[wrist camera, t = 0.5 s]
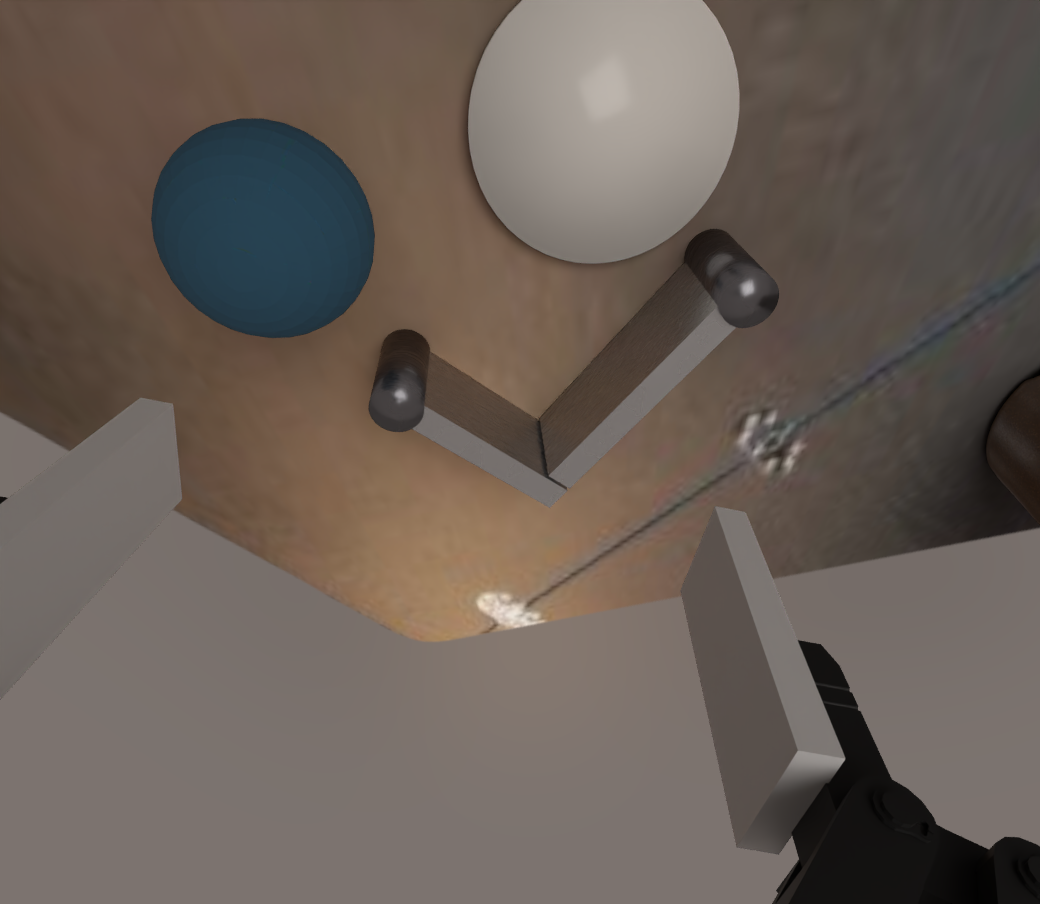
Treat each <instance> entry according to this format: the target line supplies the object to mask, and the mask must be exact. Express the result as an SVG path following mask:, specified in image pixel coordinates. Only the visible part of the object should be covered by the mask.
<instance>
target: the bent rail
mask: <svg viewBox="0 0 1040 904" xmlns="http://www.w3.org/2000/svg"><path fill="white" fill-rule="evenodd" d="M778 298H779V290H778V286H777V284H776V282H775V281H774V280H773V278H772V277H771V276H770V275H769V274H768V273H767V272H766V271H765V270H764V269H763V268H762V267H761V266H760V265H759V264H758V263H757V262H756V261H755V260H754V259H753V258H752V257H751V256H750V255H749V254H748V253H747V252H746V251H745V250H744V249H743V248H742V247H741V246H740V245H739V244H738V243H737V242H736V241H735V240H734V239H733V238H732V237H731V236H730V235H729V234H728V233H727V232H725V231H723V230H719V229H710V230H706V231H704V232H701V233H700V234H698V235H697V236H696V237H695V238H694V239H693V240H692V241H691V242H690V244H689V245H688V247H687V250H686V253H685V263H684V264H683V265H682V266H681V267H680V268H679V269H678V270H677V271H676V272H675V273H674V274H673V275H672V277H671V278H670V279H669V280H668V281H667V282H666V283H665V284H664V285H663V286H662V287H661V288H660V289H659V290H658V292H657V293H656V294H655V295H654V296H653V297H652V298H651V299H650V300H649V301H648V302H647V303H646V304H645V306H644V307H643V308H642V309H641V310H640V311H639V312H638V313H637V314H636V315H635V316H634V317H633V318H632V319H631V321H630V322H629V323H628V324H627V325H626V326H625V327H624V328H623V329H622V330H621V331H620V332H619V333H618V334H617V336H616V337H615V338H614V339H613V340H612V341H611V342H610V343H609V344H608V345H607V346H606V347H605V348H604V349H603V351H602V352H601V353H600V354H599V355H598V356H597V357H596V358H595V359H594V360H593V361H592V362H591V363H590V364H589V366H588V367H587V368H586V369H585V370H584V371H583V372H582V373H581V374H580V375H579V376H578V377H577V378H576V379H575V381H574V382H573V383H572V384H571V385H570V386H569V387H568V388H567V389H566V390H565V391H564V392H563V393H562V395H561V396H560V397H559V398H558V399H557V400H556V401H555V402H554V403H553V404H552V405H551V406H550V407H549V408H548V410H547V411H546V412H545V413H544V414H543V415H542V416H541V417H540V421H538V420H536V419H535V418H533V417H532V416H530V415H529V414H527V413H525V412H524V411H522V410H521V409H519V408H518V407H516V406H514V405H513V404H511V403H510V402H508V401H507V400H505V399H503V398H502V397H500V396H499V395H497V394H496V393H494V392H492V391H491V390H489V389H488V388H486V387H485V386H483V385H481V384H480V383H478V382H477V381H475V380H474V379H472V378H470V377H469V376H467V375H466V374H464V373H463V372H461V371H459V370H458V369H456V368H455V367H453V366H452V365H450V364H448V363H447V362H445V361H444V360H442V359H441V358H439V357H437V356H436V355H434V354H433V353H431V352H430V348H429V345H428V342H427V341H426V339H425V338H424V337H423V336H422V335H420V334H419V333H417V332H415V331H412V330H397V331H395V332H393V333H391V334H390V335H388V336H387V338H386V339H385V340H384V343H383V346H382V350H381V355H380V359H379V363H378V367H377V372H376V376H375V380H374V385H373V389H372V393H371V397H370V402H369V413H370V415H371V417H372V419H373V420H374V422H375V423H376V424H377V425H379V426H380V427H382V428H384V429H386V430H389V431H393V432H403V431H408V430H410V429H413V430H415V431H417V432H418V433H420V434H422V435H424V436H425V437H427V438H429V439H430V440H432V441H434V442H436V443H437V444H439V445H441V446H443V447H444V448H446V449H448V450H450V451H451V452H453V453H455V454H457V455H458V456H460V457H462V458H464V459H465V460H467V461H469V462H471V463H472V464H474V465H476V466H478V467H479V468H481V469H483V470H485V471H486V472H488V473H490V474H492V475H493V476H495V477H497V478H499V479H500V480H502V481H504V482H506V483H507V484H509V485H511V486H513V487H514V488H516V489H518V490H520V491H521V492H523V493H525V494H527V495H528V496H530V497H532V498H534V499H535V500H537V501H539V502H541V503H542V504H544V505H546V506H548V507H549V508H550V507H551V506H552V505H553V504H554V503H555V502H556V501H557V500H558V499H559V498H560V497H561V496H562V495H563V494H564V493H566V492H567V487H568V488H571V487H572V486H573V485H574V484H575V483H576V482H577V481H578V480H579V479H580V478H581V477H582V476H583V475H584V474H585V473H586V472H587V471H588V470H589V469H590V468H591V467H592V466H593V465H594V464H595V463H597V462H598V461H599V460H600V459H601V458H602V457H603V456H604V455H605V454H606V453H607V452H608V451H609V450H610V449H611V448H612V447H613V446H614V445H615V444H616V443H617V442H618V441H619V440H620V439H621V438H622V437H623V436H624V435H625V434H626V433H627V432H629V431H630V430H631V429H632V428H633V427H634V426H635V425H636V424H637V423H638V422H639V421H640V420H641V419H642V418H643V417H644V416H645V415H646V414H647V413H648V412H649V411H650V410H651V409H652V408H653V407H654V406H655V405H656V404H657V403H658V402H659V401H661V400H662V399H663V398H664V397H665V396H666V395H667V394H668V393H669V392H670V391H671V390H672V389H673V388H674V387H675V386H676V385H677V384H678V383H679V382H680V381H681V380H682V379H683V378H684V377H685V376H686V375H687V374H688V373H689V372H690V371H692V370H693V369H694V368H695V367H696V366H697V365H698V364H699V363H700V362H701V361H702V360H703V359H704V358H705V357H706V356H707V355H708V354H709V353H710V352H711V351H712V350H713V349H714V348H715V347H716V346H717V345H718V344H719V343H720V342H721V341H722V340H724V339H725V338H726V337H727V336H728V335H729V334H730V333H731V332H732V331H733V330H734V329H735V328H736V327H738V328H748V327H752V326H755V325H757V324H759V323H761V322H763V321H764V320H765V319H766V318H768V317H769V316H770V315H771V313H772V312H773V311H774V309H775V307H776V305H777V302H778Z"/></svg>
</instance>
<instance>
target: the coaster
mask: <svg viewBox="0 0 1040 904" xmlns="http://www.w3.org/2000/svg"><path fill="white" fill-rule="evenodd" d="M738 117H739V84H738V75H737V70H736V65H735V61H734V57H733V53H732V50H731V48H730V45H729V43H728V40H727V37H726V35H725V33H724V31H723V29H722V28H721V26H720V24H719V22H718V20H717V19H716V17H715V16H714V14H713V13H712V12H711V11H710V9H709V8H708V7H707V5H706V4H705V3H704V2H703V1H702V0H520V1H519V2H518V3H517V4H516V6H515V7H514V8H513V9H512V10H511V11H510V12H509V13H508V14H507V15H506V17H505V18H504V19H503V21H502V22H501V23H500V25H499V26H498V27H497V29H496V30H495V32H494V33H493V35H492V37H491V39H490V41H489V42H488V44H487V46H486V48H485V50H484V52H483V55H482V57H481V60H480V62H479V64H478V67H477V70H476V74H475V77H474V81H473V84H472V89H471V95H470V102H469V113H468V136H469V147H470V154H471V158H472V163H473V168H474V171H475V174H476V177H477V180H478V182H479V185H480V187H481V189H482V192H483V194H484V196H485V198H486V200H487V202H488V203H489V205H490V206H491V208H492V209H493V211H494V212H495V214H496V215H497V217H498V218H499V219H500V220H501V221H502V222H503V223H504V225H505V226H506V227H507V228H508V229H509V230H510V231H511V232H512V233H514V234H515V235H516V236H517V237H518V238H519V239H521V240H522V241H524V242H525V243H526V244H528V245H529V246H531V247H532V248H534V249H536V250H538V251H540V252H542V253H544V254H546V255H549V256H552V257H555V258H558V259H561V260H565V261H571V262H576V263H590V264H595V263H609V262H614V261H619V260H624V259H627V258H630V257H633V256H636V255H639V254H641V253H644V252H646V251H648V250H650V249H652V248H654V247H656V246H658V245H659V244H661V243H662V242H664V241H666V240H667V239H669V238H670V237H671V236H673V235H674V234H675V233H676V232H678V231H679V230H680V229H682V228H683V227H684V226H685V225H686V224H687V223H688V222H689V221H690V220H691V219H692V218H693V217H694V216H695V215H696V214H697V212H698V211H699V210H700V209H701V207H702V206H703V205H704V204H705V203H706V201H707V200H708V198H709V197H710V195H711V194H712V192H713V191H714V189H715V187H716V186H717V184H718V182H719V180H720V178H721V176H722V174H723V172H724V170H725V168H726V165H727V162H728V160H729V157H730V154H731V152H732V148H733V144H734V140H735V136H736V132H737V124H738Z"/></svg>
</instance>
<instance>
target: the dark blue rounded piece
mask: <svg viewBox="0 0 1040 904" xmlns="http://www.w3.org/2000/svg"><path fill="white" fill-rule="evenodd" d="M151 219H152V228H153V236H154V241H155V244H156V247H157V250H158V253H159V256H160V259H161V261H162V263H163V265H164V267H165V268H166V270H167V272H168V274H169V276H170V278H171V280H172V281H173V283H174V284H175V285H176V286H177V288H178V289H179V290H180V292H181V293H182V294H183V296H184V297H185V298H186V299H187V300H188V301H190V302H191V303H192V304H193V305H194V306H195V307H196V308H197V309H198V310H199V311H201V312H202V313H204V314H205V315H207V316H208V317H209V318H211V319H212V320H214V321H216V322H218V323H220V324H222V325H224V326H226V327H228V328H230V329H232V330H235V331H239V332H242V333H245V334H248V335H255V336H261V337H269V338H283V337H294V336H298V335H303V334H307V333H310V332H312V331H314V330H317V329H319V328H321V327H323V326H325V325H327V324H329V323H331V322H332V321H333V320H335V319H336V318H338V317H339V316H340V315H342V314H343V313H344V312H345V311H346V310H347V309H348V308H349V307H350V305H351V304H352V303H353V302H354V301H355V300H356V298H357V297H358V295H359V294H360V292H361V290H362V288H363V286H364V284H365V283H366V281H367V279H368V276H369V273H370V269H371V266H372V262H373V253H374V238H375V234H374V227H373V219H372V214H371V211H370V208H369V205H368V202H367V199H366V196H365V194H364V192H363V190H362V188H361V187H360V185H359V183H358V181H357V179H356V177H355V176H354V175H353V173H352V172H351V171H350V170H349V168H348V167H347V166H346V165H345V163H344V162H343V161H342V159H340V158H339V157H338V156H337V155H336V154H335V153H334V152H333V151H332V150H331V149H329V148H328V147H327V146H326V145H325V144H324V143H322V142H320V141H319V140H317V139H316V138H314V137H313V136H311V135H309V134H308V133H306V132H304V131H302V130H300V129H297V128H295V127H292V126H290V125H287V124H285V123H281V122H276V121H271V120H266V119H237V120H233V121H228V122H224V123H220V124H215V125H212V126H210V127H208V128H206V129H204V130H202V131H200V132H198V133H196V134H194V135H193V136H191V137H190V138H189V139H188V140H187V141H186V142H185V143H184V144H182V145H181V146H180V147H179V148H178V149H177V150H176V151H175V152H174V153H173V155H172V156H171V157H170V159H169V161H168V162H167V164H166V165H165V167H164V168H163V170H162V171H161V174H160V177H159V179H158V182H157V185H156V188H155V192H154V198H153V208H152V218H151Z"/></svg>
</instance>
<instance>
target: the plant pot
mask: <svg viewBox="0 0 1040 904" xmlns="http://www.w3.org/2000/svg"><path fill="white" fill-rule="evenodd" d="M986 455H987V460H988V464H989V466H990V468H991V469H992V470H993V472H994V473H995V475H996V476H997V477H998V479H999V480H1000V481H1001V482H1002V483H1003V484H1004V485H1005V486H1006V487H1007V488H1008V489H1009V491H1010V492H1011V493H1012V494H1013V495H1014V496H1015V497H1016V499H1017V500H1018V501H1019V502H1020V503H1021V504H1022V505H1023V506H1024V508H1025V509H1026V510H1027V511H1028V512H1029V513H1030V515H1031V516H1032V517H1033V518H1034V519H1035V520H1036V522H1037V523H1038V524H1039V525H1040V375H1039V376H1037V377H1035V378H1032V379H1029V380H1026V381H1024V382H1023V383H1022V384H1021V385H1020V386H1019V387H1018V388H1017V389H1016V390H1015V391H1014V392H1013V393H1012V395H1011V396H1010V397H1009V398H1008V400H1007V401H1006V402H1005V403H1004V405H1003V406H1002V408H1001V409H1000V411H999V412H998V414H997V416H996V418H995V420H994V422H993V424H992V426H991V429H990V432H989V435H988V439H987V445H986Z"/></svg>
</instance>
